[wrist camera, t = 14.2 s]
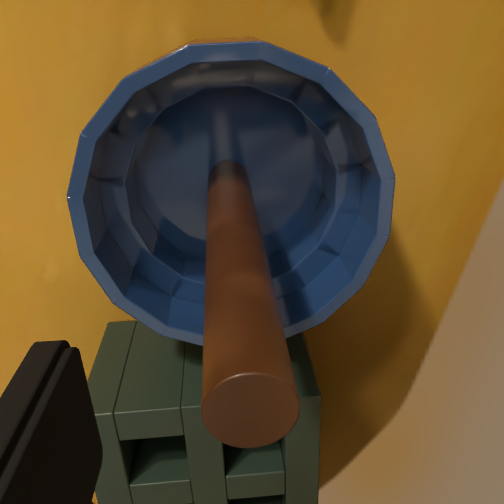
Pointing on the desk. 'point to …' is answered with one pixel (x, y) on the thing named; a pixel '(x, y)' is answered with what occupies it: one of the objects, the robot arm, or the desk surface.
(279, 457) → the holder
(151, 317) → the bowl
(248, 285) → the stick
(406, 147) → the desk surface
